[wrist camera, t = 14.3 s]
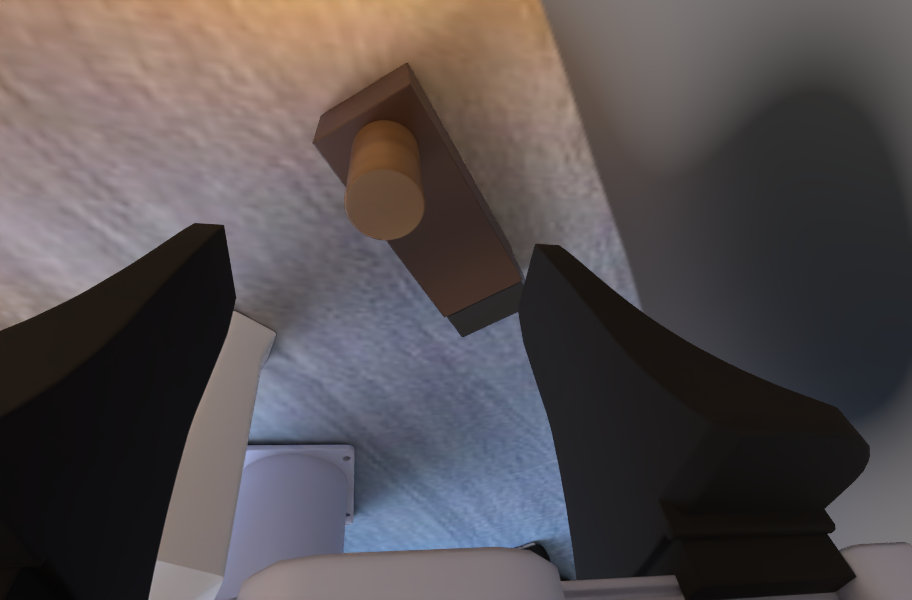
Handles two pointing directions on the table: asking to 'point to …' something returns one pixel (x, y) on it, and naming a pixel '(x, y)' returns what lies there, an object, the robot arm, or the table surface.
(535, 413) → the table surface
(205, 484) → the perfume bottle
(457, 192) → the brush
